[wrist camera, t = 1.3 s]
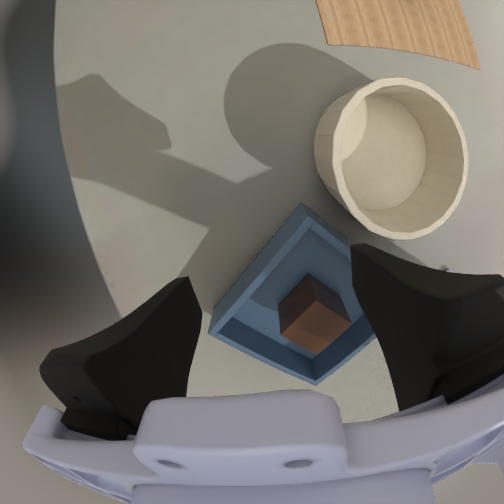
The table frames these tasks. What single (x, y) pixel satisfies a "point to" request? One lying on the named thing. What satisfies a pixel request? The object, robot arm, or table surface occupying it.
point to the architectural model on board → (401, 27)
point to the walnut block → (312, 315)
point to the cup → (393, 156)
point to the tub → (279, 286)
